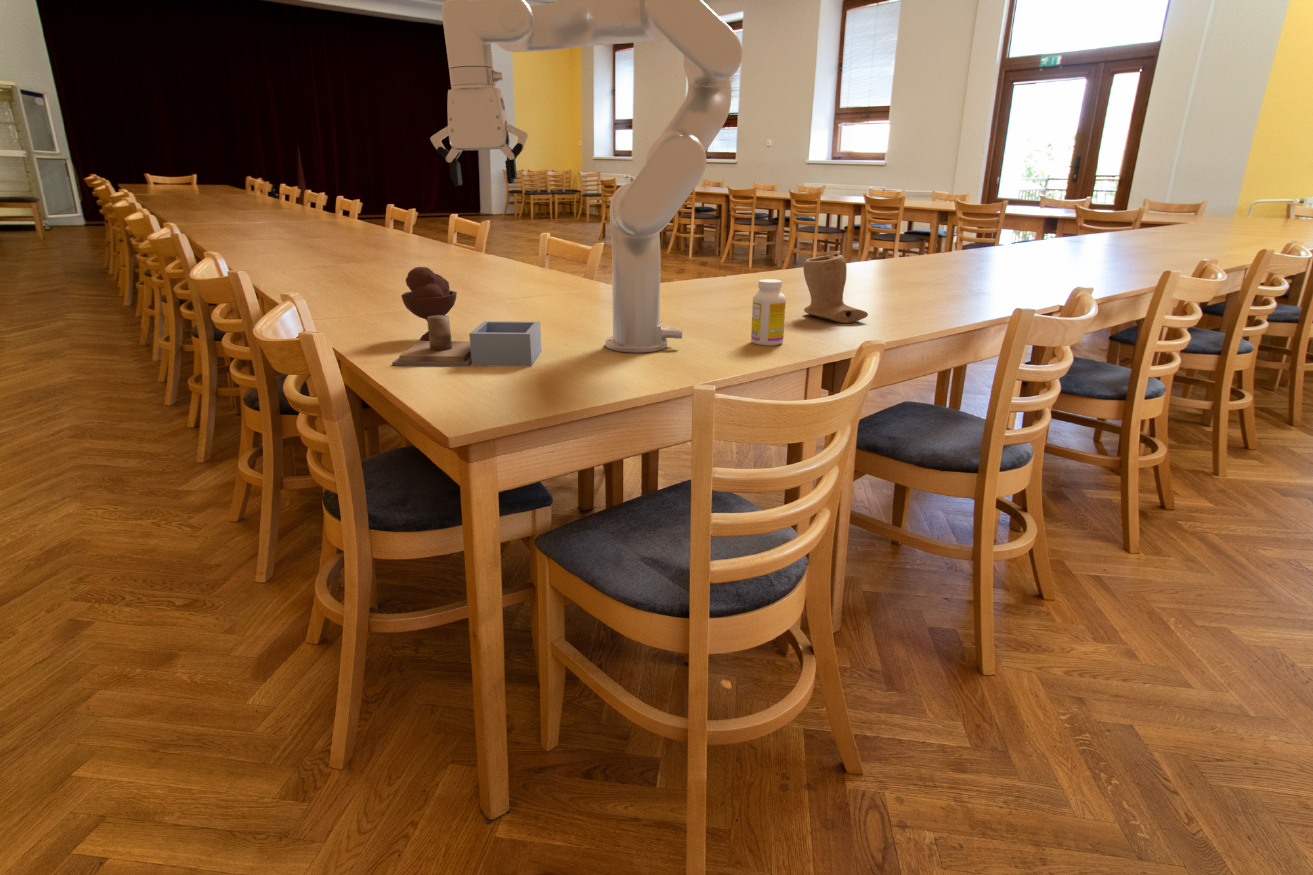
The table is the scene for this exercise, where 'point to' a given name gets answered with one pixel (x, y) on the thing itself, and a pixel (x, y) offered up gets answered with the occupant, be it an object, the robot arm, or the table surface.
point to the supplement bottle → (768, 313)
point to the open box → (505, 343)
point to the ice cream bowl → (427, 295)
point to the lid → (438, 344)
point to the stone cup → (829, 289)
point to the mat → (430, 363)
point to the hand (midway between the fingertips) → (484, 184)
